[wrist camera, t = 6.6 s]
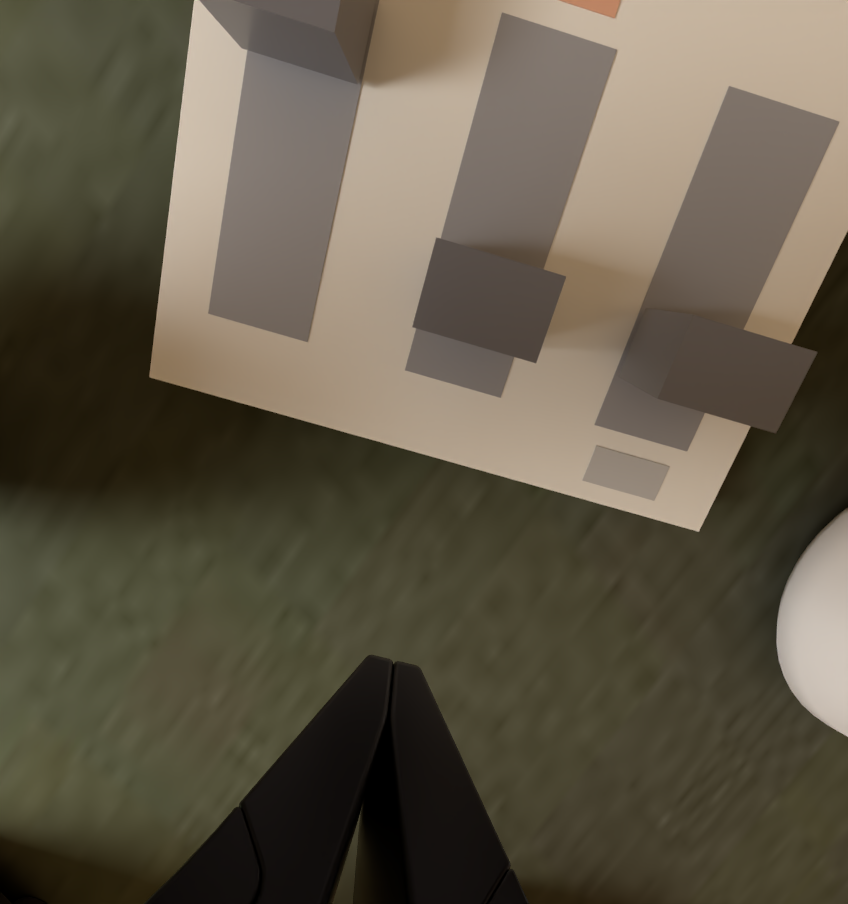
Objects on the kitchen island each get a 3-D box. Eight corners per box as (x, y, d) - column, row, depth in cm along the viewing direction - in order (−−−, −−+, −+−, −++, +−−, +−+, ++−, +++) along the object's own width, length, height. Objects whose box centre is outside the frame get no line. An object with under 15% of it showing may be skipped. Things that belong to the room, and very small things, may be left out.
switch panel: (179, 367, 18) (148, 377, 16) (250, -146, 14) (218, -215, 12) (673, 506, 19) (699, 532, 17) (882, 63, 15) (947, 30, 13)
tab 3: (618, 376, 15) (657, 398, 13) (645, 307, 15) (693, 314, 12) (715, 405, 16) (775, 433, 13) (746, 338, 15) (818, 352, 12)
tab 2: (418, 318, 15) (411, 327, 12) (438, 245, 15) (436, 237, 12) (519, 347, 15) (536, 363, 12) (543, 276, 15) (566, 276, 12)
